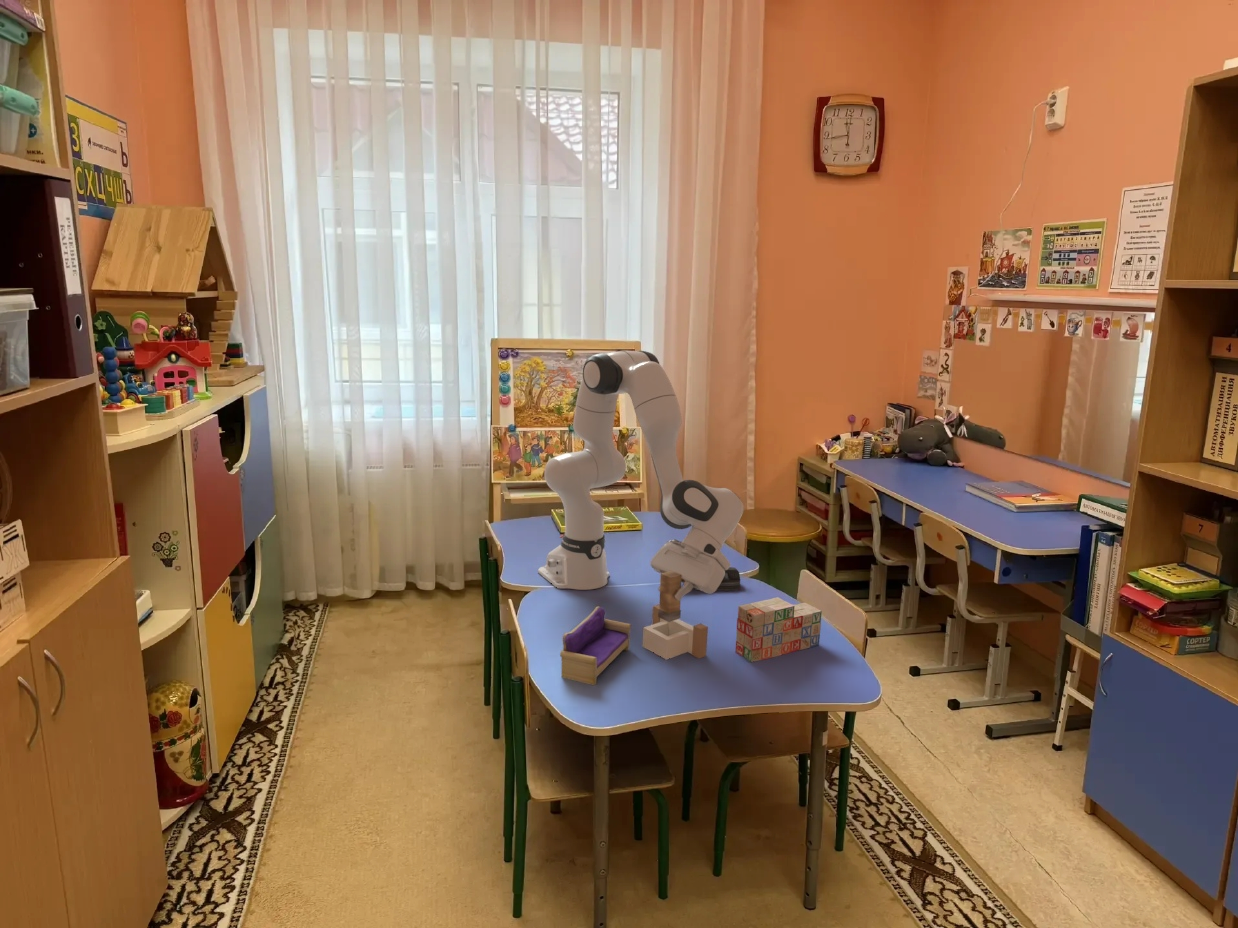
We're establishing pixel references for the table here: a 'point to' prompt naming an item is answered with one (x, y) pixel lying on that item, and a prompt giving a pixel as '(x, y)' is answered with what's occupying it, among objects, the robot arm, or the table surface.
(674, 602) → the wooden block
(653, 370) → the robot arm
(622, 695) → the table surface
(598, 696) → the table surface
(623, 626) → the toy sofa
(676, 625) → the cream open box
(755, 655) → the stack of blocks
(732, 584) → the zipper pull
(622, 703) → the table surface
